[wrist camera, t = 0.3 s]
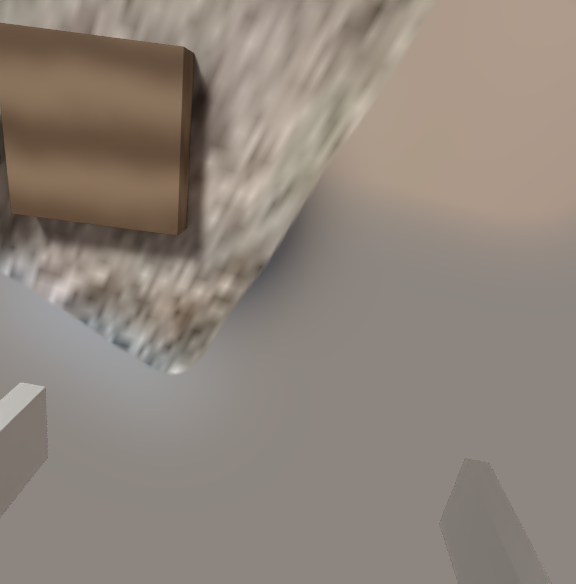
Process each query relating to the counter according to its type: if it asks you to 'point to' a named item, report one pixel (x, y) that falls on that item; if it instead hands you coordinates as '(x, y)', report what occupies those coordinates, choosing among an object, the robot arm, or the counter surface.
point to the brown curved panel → (96, 128)
